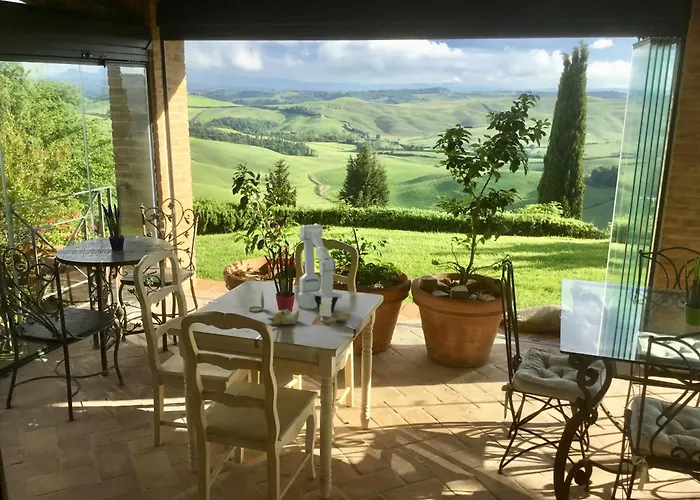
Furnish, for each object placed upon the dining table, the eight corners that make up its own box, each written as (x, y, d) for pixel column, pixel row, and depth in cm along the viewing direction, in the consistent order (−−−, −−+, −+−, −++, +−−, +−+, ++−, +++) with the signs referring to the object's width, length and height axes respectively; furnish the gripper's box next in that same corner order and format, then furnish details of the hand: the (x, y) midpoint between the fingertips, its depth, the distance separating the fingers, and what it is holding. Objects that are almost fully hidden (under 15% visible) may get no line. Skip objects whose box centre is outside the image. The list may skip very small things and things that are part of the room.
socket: (319, 315, 271) (319, 304, 270) (321, 312, 277) (321, 301, 276) (330, 316, 271) (331, 305, 270) (332, 312, 276) (333, 301, 275)
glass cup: (246, 310, 292) (245, 291, 289) (259, 306, 298) (259, 287, 296) (256, 314, 286) (256, 294, 284) (269, 310, 292) (269, 291, 290)
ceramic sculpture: (299, 310, 267) (267, 313, 264) (300, 328, 268) (268, 331, 266) (298, 303, 277) (266, 306, 274) (298, 320, 279) (267, 323, 276)
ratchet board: (311, 327, 270) (311, 316, 269) (318, 314, 289) (318, 303, 287) (345, 330, 268) (345, 318, 267) (350, 316, 287) (350, 306, 286)
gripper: (309, 285, 268) (309, 313, 271) (340, 287, 266) (340, 315, 269) (312, 281, 274) (312, 308, 277) (343, 283, 273) (342, 311, 276)
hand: (326, 312), depth 274 cm, fingers closed on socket, 5 cm apart
